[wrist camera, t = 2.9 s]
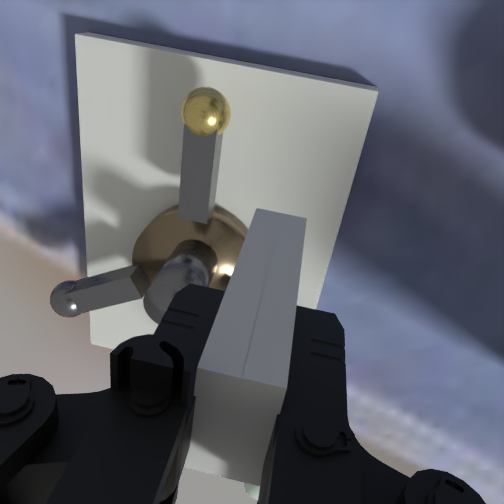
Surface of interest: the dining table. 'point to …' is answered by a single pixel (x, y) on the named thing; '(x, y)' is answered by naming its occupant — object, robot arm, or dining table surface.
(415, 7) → the dining table surface
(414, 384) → the dining table surface
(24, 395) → the robot arm
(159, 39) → the dining table surface
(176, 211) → the capstan
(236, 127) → the stand base
